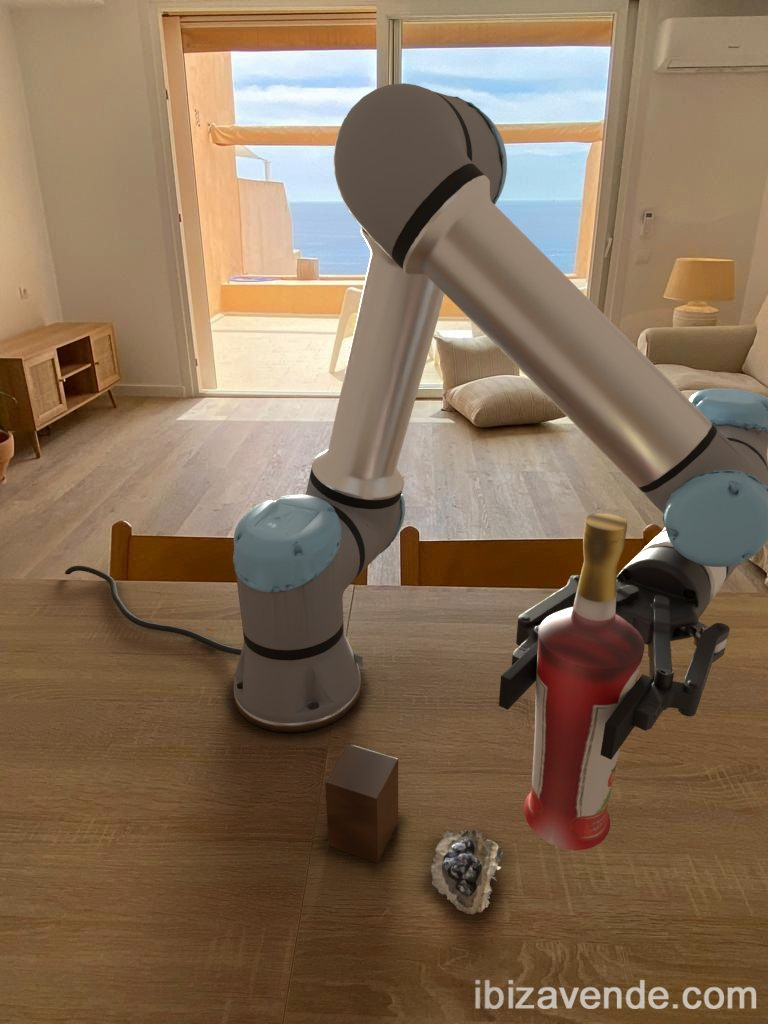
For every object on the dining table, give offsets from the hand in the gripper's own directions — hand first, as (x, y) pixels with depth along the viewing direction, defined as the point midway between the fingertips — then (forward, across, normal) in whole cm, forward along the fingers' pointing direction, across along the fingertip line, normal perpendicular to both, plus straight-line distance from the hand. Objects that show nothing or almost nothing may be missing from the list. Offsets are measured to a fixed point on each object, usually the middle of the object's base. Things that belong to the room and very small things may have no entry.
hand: (554, 715), depth 48 cm
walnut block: (+2, +17, -22) cm, 28 cm away
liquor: (-5, 0, -15) cm, 16 cm away
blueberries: (-1, +7, -22) cm, 23 cm away
